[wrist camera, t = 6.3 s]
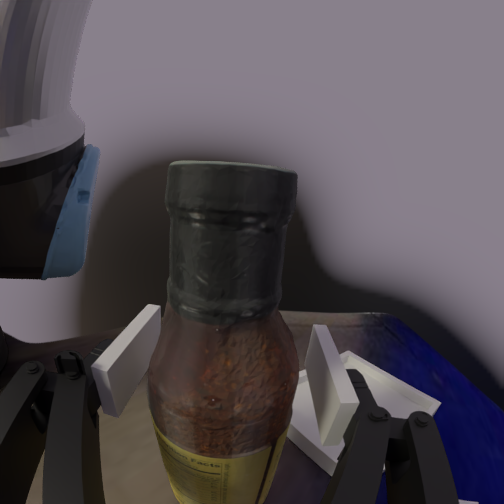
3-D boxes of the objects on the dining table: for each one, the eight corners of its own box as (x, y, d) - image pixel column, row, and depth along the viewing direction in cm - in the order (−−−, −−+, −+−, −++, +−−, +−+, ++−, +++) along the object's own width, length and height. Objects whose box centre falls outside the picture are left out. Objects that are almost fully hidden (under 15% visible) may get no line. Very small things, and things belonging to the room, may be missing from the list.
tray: (252, 401, 24) (254, 388, 23) (344, 362, 32) (348, 350, 31) (356, 496, 13) (366, 485, 12) (434, 414, 20) (441, 402, 20)
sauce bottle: (225, 450, 17) (252, 174, 13) (283, 498, 13) (375, 185, 9) (153, 482, 13) (118, 160, 9) (207, 545, 9) (219, 140, 4)
